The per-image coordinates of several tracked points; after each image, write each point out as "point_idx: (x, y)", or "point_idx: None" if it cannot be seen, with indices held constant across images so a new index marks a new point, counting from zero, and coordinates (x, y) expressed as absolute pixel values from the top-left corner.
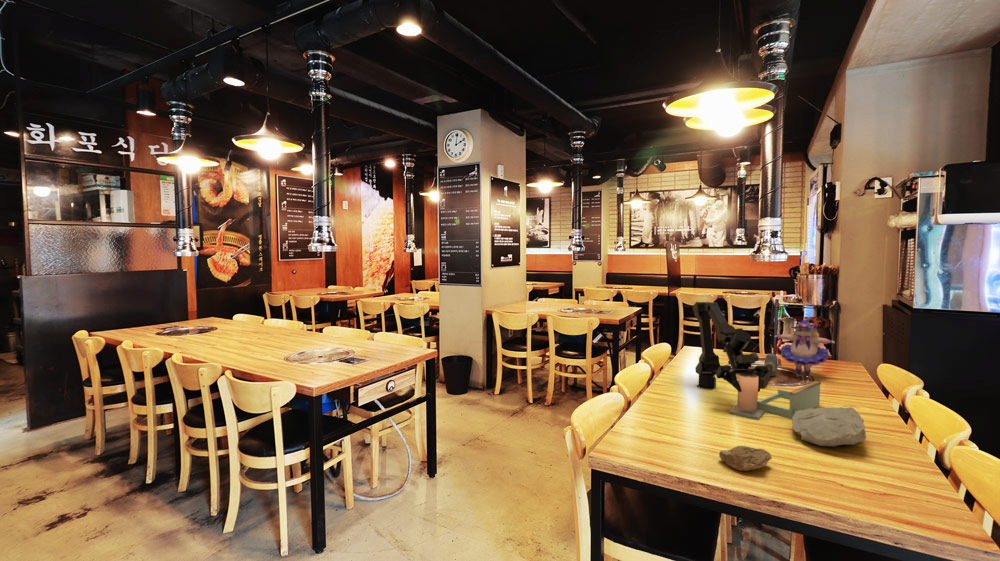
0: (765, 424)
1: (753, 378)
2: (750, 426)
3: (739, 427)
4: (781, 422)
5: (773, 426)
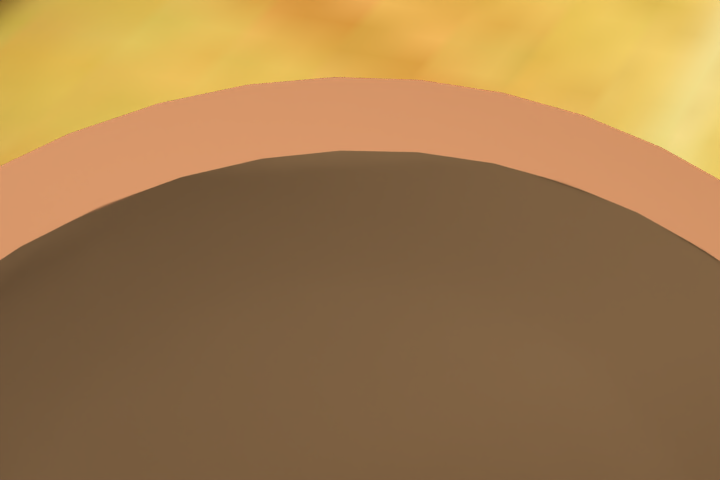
0: (345, 71)
1: (455, 89)
2: (550, 52)
3: (680, 50)
4: (103, 90)
5: (298, 7)
